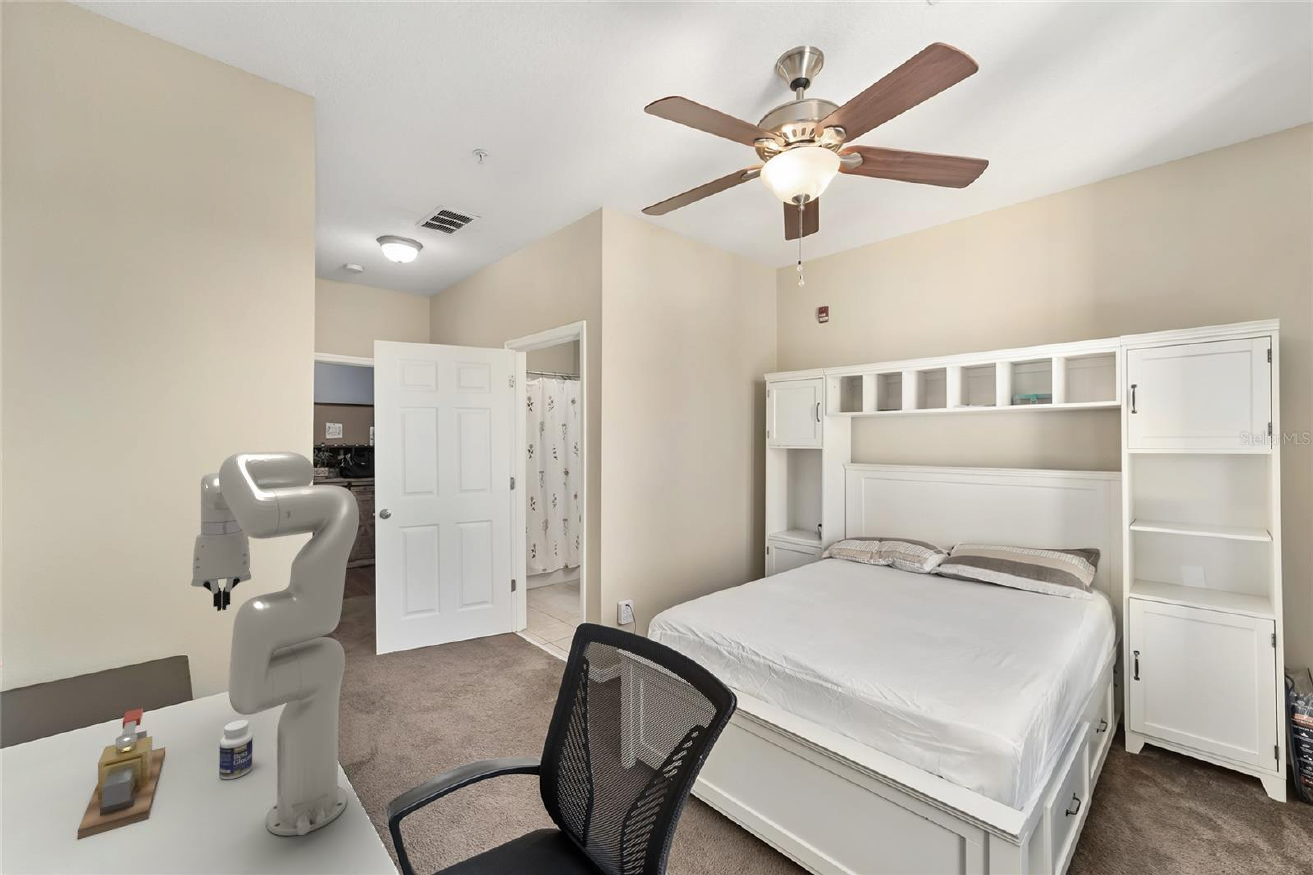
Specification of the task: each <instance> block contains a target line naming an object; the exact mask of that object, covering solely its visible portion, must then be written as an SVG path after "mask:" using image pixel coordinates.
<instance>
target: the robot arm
mask: <svg viewBox="0 0 1313 875" xmlns="http://www.w3.org/2000/svg"><path fill="white" fill-rule="evenodd" d="M314 468H315V467H314V465H313V463H312V462H311V461H310V460H309V458H307V457H306V456H304V455H302V454H301V453H298V452H291V451H261V452H259V451H257V452H255V451H253V452H238V453H234V454H232V455H229V456H228V457H227V458H226V459H225V460H224V461H223V462H222V464H221V465H220V468H219V472H214V473H213V472H212V473H208V474H205V475H203V476H202V478H201V481H200V534H196V535H197V536H196V538H195V542H194V549H193V560H192V580H191V583H190V585H191V586H192V587H199V588H205V589H207V590H208V591H209V592H211V593H212V594H213V595H212V596H213V597H212V598H213V608H215V607H216V608H217V609H216V610H217V612H221V611H226V610H227V607H228V606H230V605H231V591H232V590H233V589H234V588H235V587H236V586H238V584H240V583H243V582H247V581H250V580H251V579H252V574H251V571H250V567H251V557H250V556H251V555H250V554H251V553H250V541H249V537H250V538H252V539H256V540H257V539H260V540H261V539H262V540H265V539H267V540H268V539H273V538H274V539H275V538H281V537H289V536H296V535H302V534H308V533H309V534H310V533H314V535H313V536H312V537H311V538H310V539H309V540H308V541H307V542H306V543H305V544H304V545H303V546H302V547H301V549H300V551H298V553H297V554H296V555H295V557H294V559H293V560H292V563H291V567H290V579H289V584H288V586H287V587H286V588H285V589H283V590H279V591H275V592H270V593H265V594H260V595H258V596H254V597H251V598H249V599H248V600H245V602H244V603H242V605H241V606H240V607H239V609H238V611H237V612H236V615H235V618H234V623H233V628H232V639H231V651H230V662H229V672H228V698H229V699H228V700H229V704H230V705H231V707H232V709H233V710H234V711H235V713H238V714H240V715H242V716H243V715H244V716H246V715H247V716H248V715H249V716H250V715H255V714H258V713H262V712H265V711H268V710H271V709H273V708H277V707H278V706H279V707H280V706H282V705H285V706H284V707H283V709H282V711H281V714H280V716H279V719H278V722H277V734H276V735H277V738H276V742H277V743H276V746H277V747H276V750H277V752H276V754H277V756H276V759H277V760H276V766H277V767H276V769H277V770H276V776H277V777H276V780H277V781H276V803H275V804H274V805H273V806H272V807H271V808H270V809H269V812H267V816H266V821H265V822H266V828H267V829H268V831H269V832H270V833H272V834H275V835H278V836H284V837H285V836H286V837H287V836H298V835H300V836H303V835H306V834H307V833H310V832H312V831H316V830H318V829H319V828H320V829H321V827H323V826H326V825H327V824H330V823H331V822H332V821H334V820H335V819H336V818H337V817H338V816H340V814H341V813H342V812H343V811H344V810H345V808H346V806H347V804H348V793H347V791H346V790H345V789H344V788H343V787H341V786H339V785H338V784H339V777H338V776H339V709H340V708H339V706H340V693H341V687H342V681H343V675H344V672H345V667H346V666H345V665H346V655H345V654H346V653H345V650H344V648H343V646H342V644H341V642H340V641H338V640H337V639H335V638H332V637H326V635H328V634H330V633H332V632H333V631H334V630H335V629H336V628H337V627H338V626H339V623H340V620H341V614H342V608H343V602H344V601H343V599H344V593H345V591H344V590H345V584H346V582H345V581H346V572H347V565H348V561H349V558H350V554H351V551H352V548H353V545H354V543H355V540H356V538H357V533H358V530H359V524H360V511H359V505H358V502H357V498H356V497H355V495H354V494H353V493H352V492H351V491H350V490H349V489H348V488H346V487H345V486H344V487H343V486H340V485H333V484H332V485H330V484H316V485H314V484H313V485H312V482H313V480H314V478H315V477H314V476H315V469H314ZM225 579H226V582H225V586H224V587H223V589H222V590H221V587H220V586H219V581H218V580H225Z"/></svg>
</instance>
